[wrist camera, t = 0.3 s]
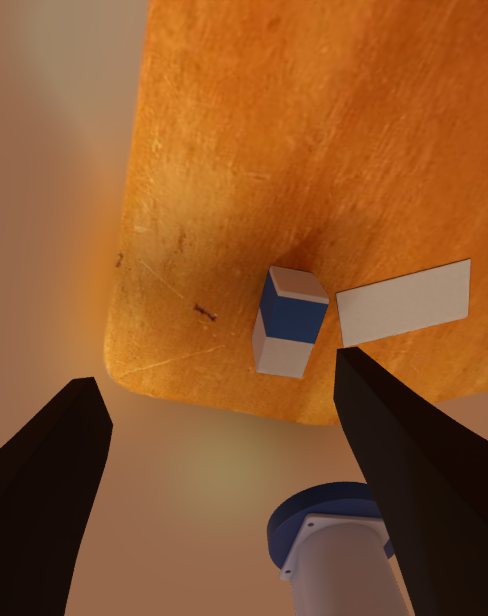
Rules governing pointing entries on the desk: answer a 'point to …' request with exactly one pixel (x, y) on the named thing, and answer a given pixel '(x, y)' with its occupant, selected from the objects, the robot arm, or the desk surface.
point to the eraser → (288, 321)
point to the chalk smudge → (404, 303)
